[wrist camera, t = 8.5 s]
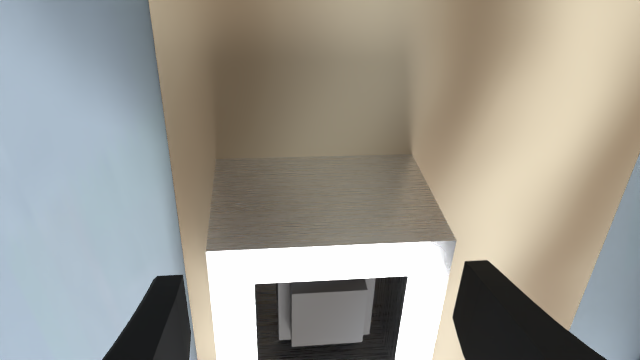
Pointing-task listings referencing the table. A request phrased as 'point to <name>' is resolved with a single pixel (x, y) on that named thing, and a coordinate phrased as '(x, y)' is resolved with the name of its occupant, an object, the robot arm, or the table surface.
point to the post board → (412, 130)
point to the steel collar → (326, 251)
